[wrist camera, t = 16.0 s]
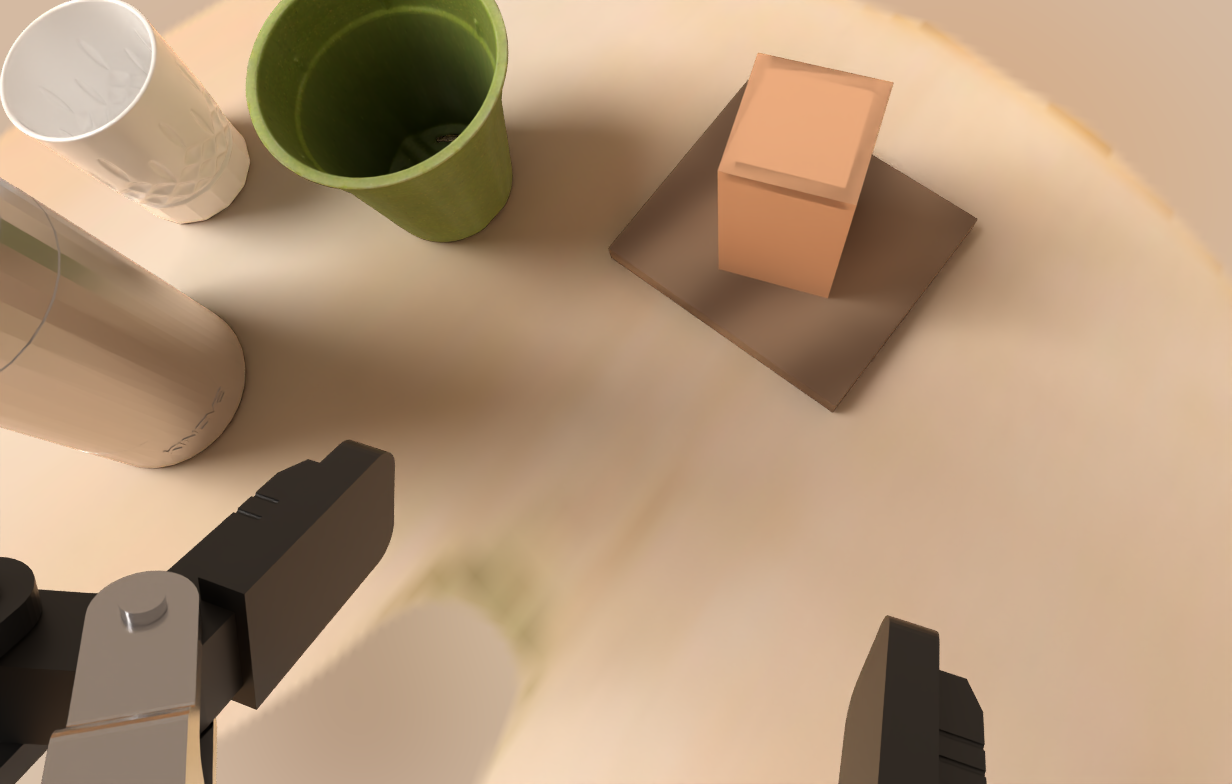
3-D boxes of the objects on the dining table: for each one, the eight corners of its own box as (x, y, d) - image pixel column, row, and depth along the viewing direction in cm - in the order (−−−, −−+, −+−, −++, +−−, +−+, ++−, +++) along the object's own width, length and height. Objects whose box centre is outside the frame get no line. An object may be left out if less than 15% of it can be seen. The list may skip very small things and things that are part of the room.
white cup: (282, 129, 52) (183, 15, 43) (224, 250, 51) (108, 159, 41) (168, 97, 54) (48, -20, 44) (108, 213, 52) (-31, 118, 42)
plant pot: (314, 157, 51) (205, 29, 41) (496, 58, 52) (436, -95, 41) (398, 325, 48) (304, 235, 37) (592, 218, 48) (555, 98, 38)
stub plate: (611, 257, 48) (596, 208, 42) (747, 92, 49) (750, 24, 44) (832, 412, 44) (847, 380, 39) (971, 229, 46) (1004, 174, 40)
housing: (718, 269, 46) (717, 170, 36) (750, 172, 47) (758, 52, 37) (827, 298, 44) (856, 205, 35) (857, 199, 46) (893, 82, 36)
